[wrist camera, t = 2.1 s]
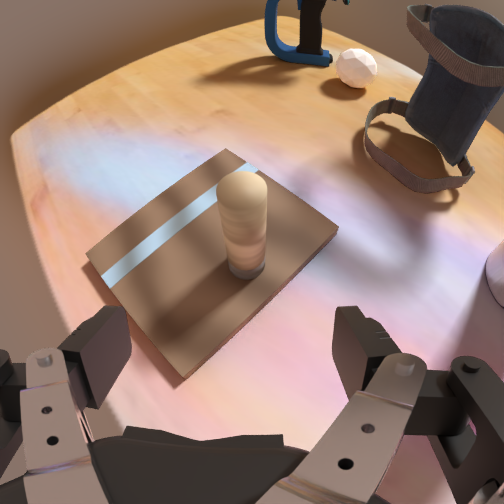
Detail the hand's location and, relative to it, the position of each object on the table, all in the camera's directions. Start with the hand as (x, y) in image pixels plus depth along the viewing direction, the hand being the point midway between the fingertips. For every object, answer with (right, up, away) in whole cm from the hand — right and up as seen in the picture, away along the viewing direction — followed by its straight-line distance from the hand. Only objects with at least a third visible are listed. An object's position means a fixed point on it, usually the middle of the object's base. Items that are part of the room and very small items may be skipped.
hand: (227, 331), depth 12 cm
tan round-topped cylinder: (0, +2, +20) cm, 20 cm away
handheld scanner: (+11, +43, +46) cm, 64 cm away
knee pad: (+26, +18, +31) cm, 44 cm away
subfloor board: (-4, +3, +23) cm, 24 cm away
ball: (+20, +34, +40) cm, 57 cm away
